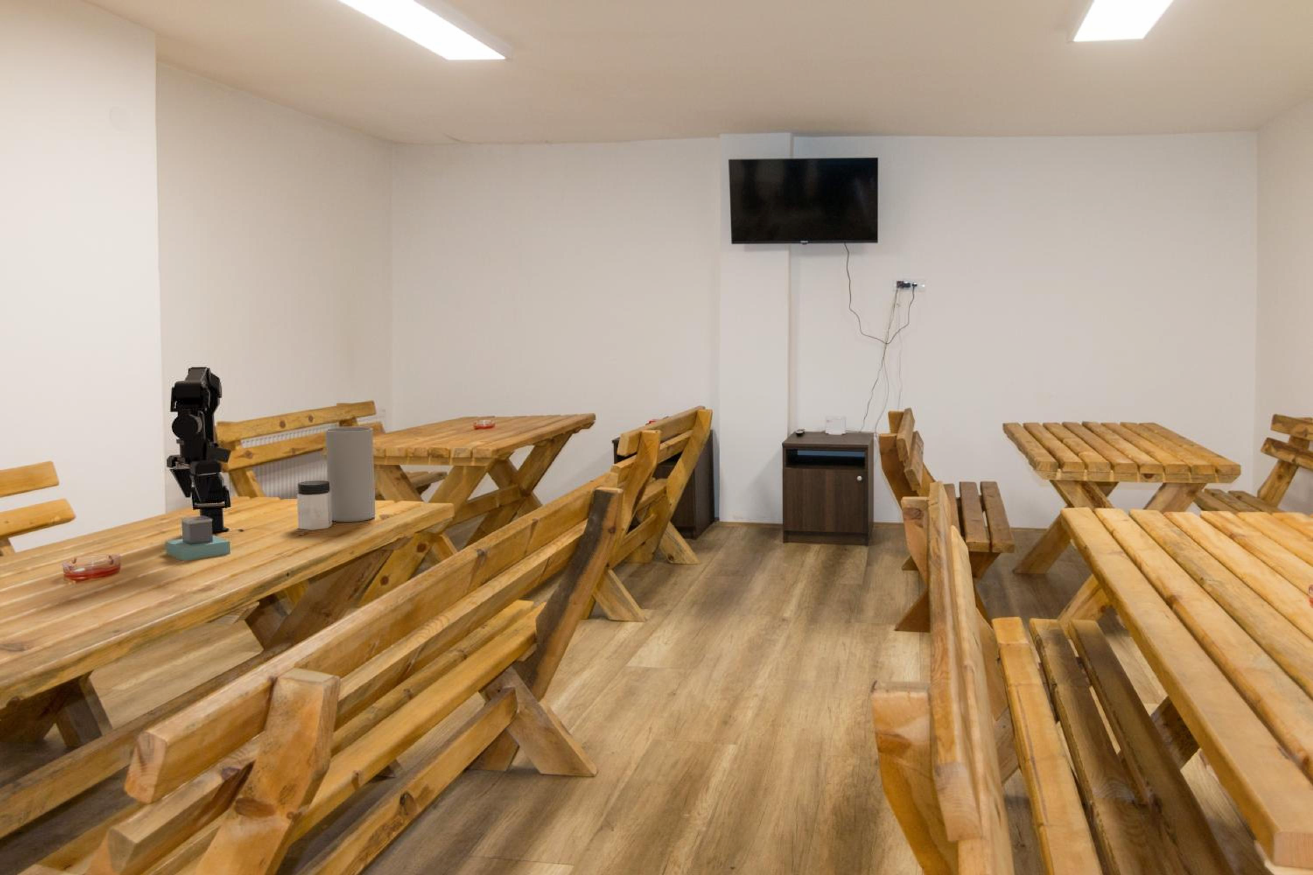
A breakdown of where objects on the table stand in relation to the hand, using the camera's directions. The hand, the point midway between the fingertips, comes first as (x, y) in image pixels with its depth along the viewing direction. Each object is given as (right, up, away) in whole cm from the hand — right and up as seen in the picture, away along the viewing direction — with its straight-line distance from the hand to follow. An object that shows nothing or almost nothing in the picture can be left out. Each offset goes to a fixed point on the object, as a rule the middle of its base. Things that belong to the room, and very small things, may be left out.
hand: (195, 499), depth 261 cm
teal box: (0, -14, +2) cm, 14 cm away
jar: (+18, -9, +33) cm, 39 cm away
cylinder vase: (+25, -8, +45) cm, 52 cm away
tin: (0, -10, +1) cm, 10 cm away
